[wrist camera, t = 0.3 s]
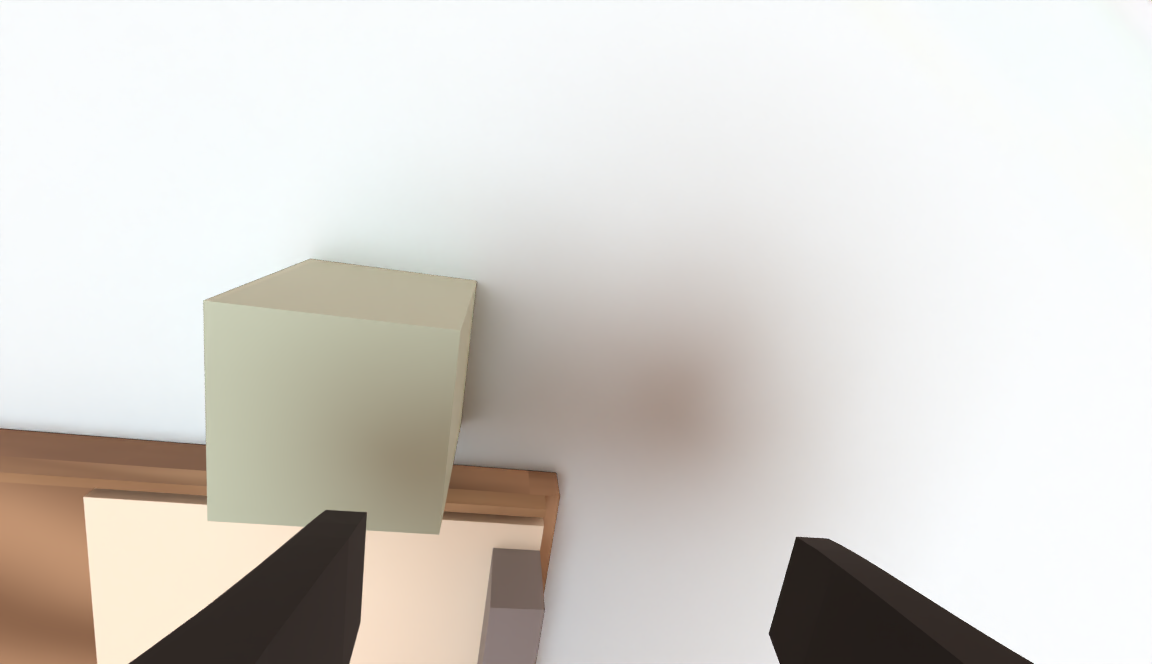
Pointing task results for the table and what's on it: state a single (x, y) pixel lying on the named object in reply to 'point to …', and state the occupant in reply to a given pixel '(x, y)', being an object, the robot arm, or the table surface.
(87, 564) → the board
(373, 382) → the sage block
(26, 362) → the table surface
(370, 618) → the lid
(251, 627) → the robot arm
